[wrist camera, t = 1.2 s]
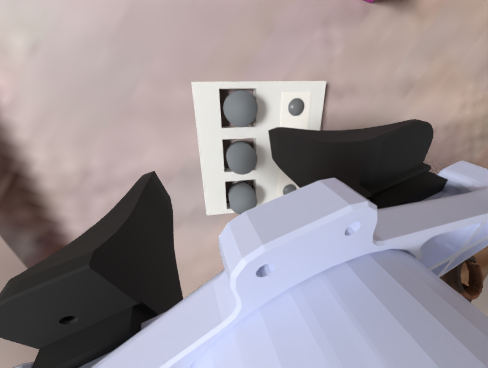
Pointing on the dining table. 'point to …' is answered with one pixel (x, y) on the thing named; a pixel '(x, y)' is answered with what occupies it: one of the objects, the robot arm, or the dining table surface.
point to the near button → (240, 108)
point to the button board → (252, 134)
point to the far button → (241, 197)
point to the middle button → (241, 157)
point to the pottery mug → (474, 282)
